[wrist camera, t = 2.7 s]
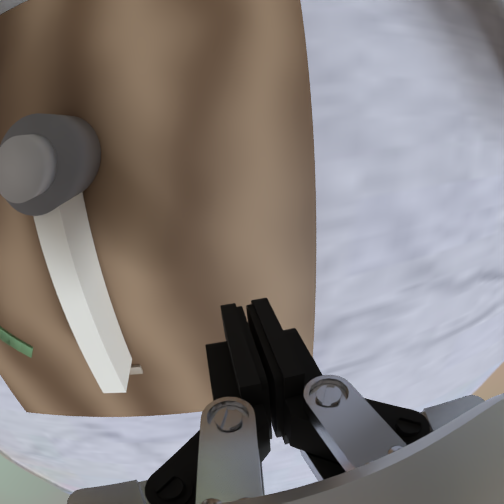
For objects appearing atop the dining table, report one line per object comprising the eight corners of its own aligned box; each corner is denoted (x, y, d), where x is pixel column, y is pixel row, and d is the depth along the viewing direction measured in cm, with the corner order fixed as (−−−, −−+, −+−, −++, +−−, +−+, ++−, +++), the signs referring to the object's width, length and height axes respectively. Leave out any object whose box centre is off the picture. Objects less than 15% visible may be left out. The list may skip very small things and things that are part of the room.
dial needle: (96, 106, 11) (56, 97, 7) (152, 357, 17) (146, 413, 13) (27, 128, 11) (-26, 133, 7) (93, 361, 16) (77, 414, 12)
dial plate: (285, -32, 11) (294, -46, 9) (304, 377, 22) (310, 393, 20) (-62, 69, 8) (-76, 68, 6) (31, 400, 19) (25, 413, 17)
